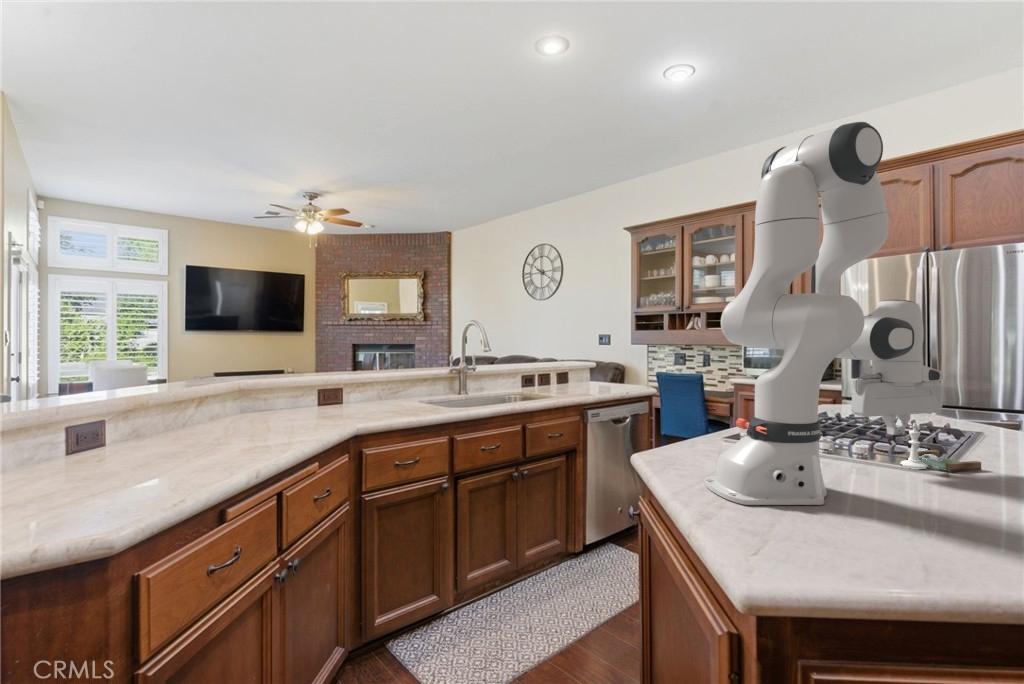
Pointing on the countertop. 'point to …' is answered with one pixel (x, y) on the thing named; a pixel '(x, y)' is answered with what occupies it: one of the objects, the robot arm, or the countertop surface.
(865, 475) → the countertop surface
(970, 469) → the cradle
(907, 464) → the chess piece
